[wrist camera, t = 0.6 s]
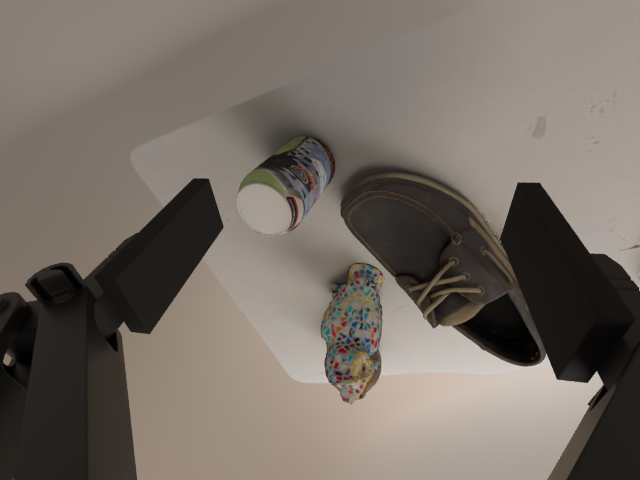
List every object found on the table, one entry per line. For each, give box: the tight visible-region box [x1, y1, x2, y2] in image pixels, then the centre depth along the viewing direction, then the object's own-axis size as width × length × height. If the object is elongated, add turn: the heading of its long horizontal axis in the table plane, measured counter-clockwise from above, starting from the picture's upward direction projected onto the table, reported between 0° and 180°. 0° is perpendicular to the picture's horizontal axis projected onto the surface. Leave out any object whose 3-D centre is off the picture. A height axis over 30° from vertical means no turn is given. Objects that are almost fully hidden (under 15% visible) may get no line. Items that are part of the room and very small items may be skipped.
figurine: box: [321, 264, 384, 404], centre depth 42 cm, size 9×9×15 cm
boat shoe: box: [341, 172, 546, 367], centre depth 36 cm, size 11×29×11 cm, turn 57°
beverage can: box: [237, 136, 335, 236], centre depth 32 cm, size 6×7×12 cm
